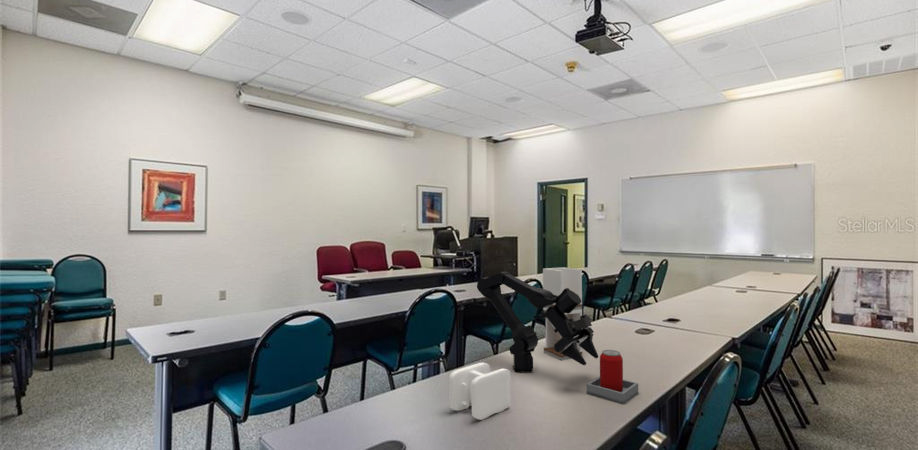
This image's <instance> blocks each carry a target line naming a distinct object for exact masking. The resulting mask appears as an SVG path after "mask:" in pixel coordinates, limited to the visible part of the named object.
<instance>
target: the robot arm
mask: <svg viewBox="0 0 918 450" xmlns="http://www.w3.org/2000/svg"><path fill="white" fill-rule="evenodd" d="M503 285H504V286H505V287H507V288H510V289H511V290H513V291H514V292H516V293H518V294H520V295H522V296H523V297H524V298H526V299H527V301H528V302H529V303H530V304H531V305H532V306H534V308H536V309H538V310H541V309H542V310H541V311H540V320H546V318H548V320H549V321H550V322H551V324H552V325H553V326H554V328H555V330H554V332H555V333H557V332H558V333H559V334H560V335H561V337H562V338H561V339H560V340H559V341H558V342H556V343H555V344H554V349H555V350H556V352H557V353H560V352H561V354H563V355H565V356H567V357H569V358H571V359H570V360H573V361H575V362H576V363H579V364H580V365H582V366H586V365H587V361H586V359H585V358H584V357H583V354H582V355H581V354H580V352H579V350H578V349H577V343H580V344H579V346H580V347H581V348H582V350H584V351H585V352H586V353H587V354H589V355H590V356H591V357H593V358H594V359H596V360H597V359H599V358H600V355H599V354H598V351H597V350H596V347H595V345H594V341H593V336H594V333H595V331H594V330H593V329H592V326H593V324H592V320H593V319H592V318H591V316H589V315H588V314H586V313H585V314H582V316H580V319H579V320H576V321H574V320H573V319H572V318H570V319H569V318H568V317H567V316H566V315H565V313H567V314H569V313H571V312H572V311H573V310H574V309H575V308H576V307H577V306H578V305H579V304H580V303H581V299H580V297H579V296H578V294H576V293H574V292H573V291H571V290H569V288H566V289H564V290H563V291H562V293H561V294H560V295H559V296H557V295H553V294H552V292H550V291H548V290H545V289H543V287H542V288H541V287H536V286H533V285H531V284H529V283H527V282H525V281H523V280H522V279H521V278H518V277H516V276H514V275H512V274H511V273H509V272H508V271H500V272H498V273H496V274H494V275H491V276H487V277H480V278H479V279H478V281H477V283H476V288H477V290H478V292H479V293H480V294H481V295H482V296H483V297H484V298H486V299H488V300H489V301H490V302H491V304H493V306H494V308H495V309H496V311H497V312H498V314H499V315H500V316H501V318H502V319H503V320H504V322H505V323H506V326H508V328H509V329H510V331H511V337H512V341H513V344H512V345H511V346H510V347H509V348H508V349H509V353H510V354H511V355H512V356H513V358H512V359H513V360H512V361H513V362H512V363H513V364H512V368H513V372H514V373H534V372H533V370H534V357H533V356H532V352H534V351H535V349H536V347H537V346H538V344H539V337H538V336H537V335H538V333H537V332H536V331H535V330H534V328H533V327H532V326H531V324H529V325H524V324H523V322H522V321H521V320H520V318H519V317H518V316H517V314H516V312H515V311H514V309H513V308H512V307H511V305H510V304H509V302H508V301H507V299H506V298H505V297H504V295H503V294H502V289H501V286H503ZM555 303H556V304H555ZM552 304H555V305H554V306H553V307H552V306H551V305H552ZM549 306H550V307H549ZM545 307H549V308H548V309H547V310H546V311H545V310H543V308H545ZM575 341H576V342H575Z"/></svg>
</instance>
